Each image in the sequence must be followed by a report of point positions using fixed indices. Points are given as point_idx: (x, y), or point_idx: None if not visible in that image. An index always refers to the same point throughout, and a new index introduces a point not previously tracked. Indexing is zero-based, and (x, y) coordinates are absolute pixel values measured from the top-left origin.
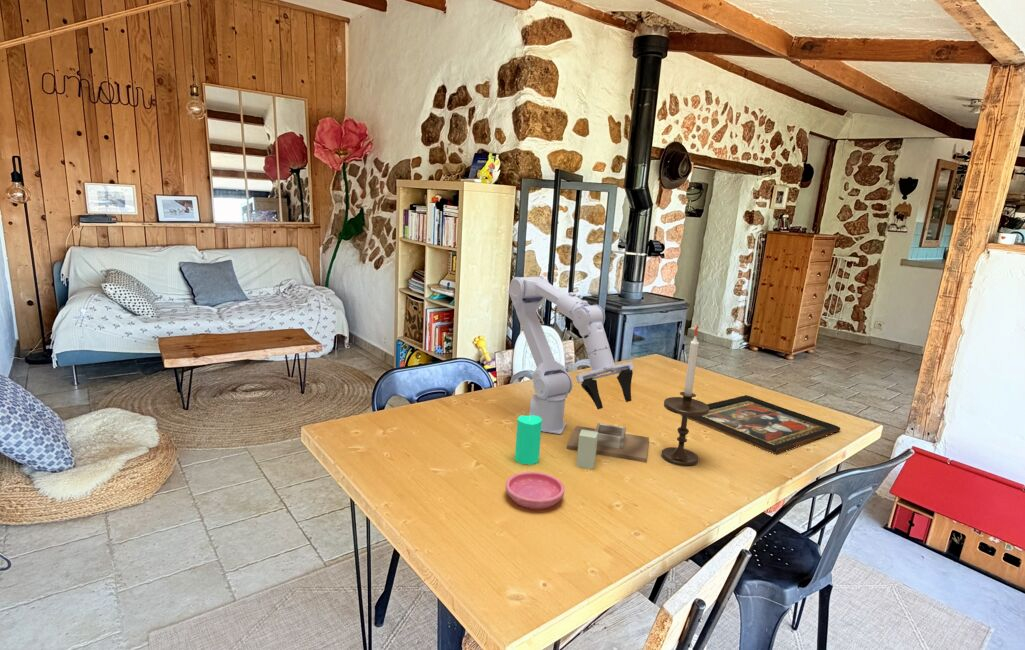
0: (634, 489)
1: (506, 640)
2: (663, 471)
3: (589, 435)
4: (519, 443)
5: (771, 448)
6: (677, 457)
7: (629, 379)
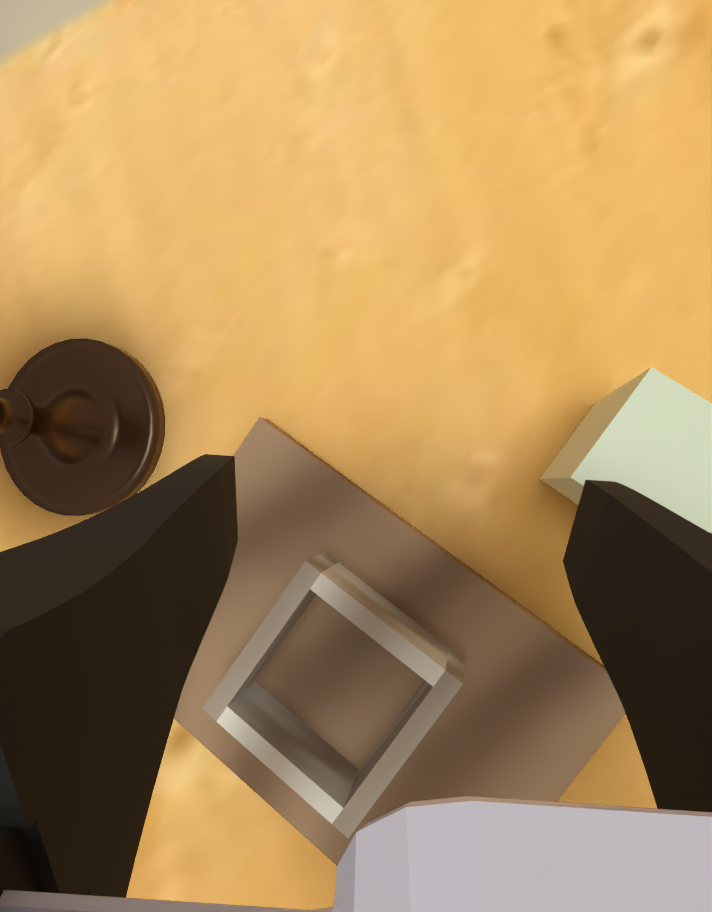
0: (481, 172)
1: None
2: (240, 317)
3: (683, 424)
4: None
5: None
6: (102, 404)
7: (17, 561)
